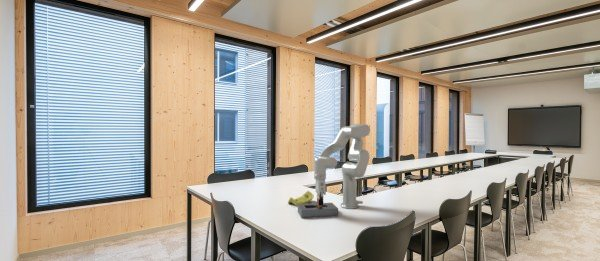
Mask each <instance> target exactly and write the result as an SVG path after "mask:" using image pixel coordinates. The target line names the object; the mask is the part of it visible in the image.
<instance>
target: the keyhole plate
mask: <svg viewBox="0 0 600 261" xmlns="http://www.w3.org/2000/svg"><path fill="white" fill-rule="evenodd" d="M297 213H298V216H300V218H301V219H312V218H314V217H316V218H331V217H332V216H334V217H339V208H338V207H337V205H335V204H334V203H333V202H323V205H322V207H318V204H317V202H316V203H315V202H313V203H307V204H298V207H297Z"/></svg>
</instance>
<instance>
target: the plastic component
mask: <svg viewBox="0 0 600 261" xmlns="http://www.w3.org/2000/svg"><path fill="white" fill-rule="evenodd" d="M313 199H314V194H313V193H312V192H310V191H309V190H307V191H306V192H305V193H303V194H302V195H301V196H300V197H297V198H293V197H289V199H288V201H287V204H288V205H291V204H294V205H295V206H296V207H297V208H298V204H309V202H311V201H312V200H313Z"/></svg>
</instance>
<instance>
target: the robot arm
mask: <svg viewBox="0 0 600 261" xmlns="http://www.w3.org/2000/svg"><path fill="white" fill-rule="evenodd" d="M370 133H371V127H370V125H368V124H365V123H360V124H359V123H353V124H350V125H349V126H348V125H345V126H342V127H341V128H340V129H339V131H338V133H337V134H336V137H335V138H334V140H333V141H332V142H331V143H330V144H329V145H328V146H326V147H324V149H323V150H322V151H321V153H320V155H319V157H315V159H314V164H313V166H314V169H313V170H314V171H313V172H314V180H315V193H316V203H317V204H318V205H323V203H324V195H327V194H326V193H327V188H326V187H327V184H326V179H327V178H326V177H327V169H335V168H336V167H337V165H338V160H337V159H336V158H335V157H333V156H331V155H333V154H335V153H337V152H339V151H342V150H345V149H344V148H345V147H346V145H347V143H348V142H349V139H351V143H350V147H349V150H348V153H347V159H348V160H349V161H351V162H349V161H348V162H344V163H343V164H342V166H341V174H342V203H340V208H341V207H342V208H344V209H347V210H348V209H353V210H355V209H357V208H359V205H362V204H363V203H364V202H363V201H362V200H358V199H357V178H360V179H361V178H363V177H364V176H365V174H366V171H367V167H368V165H369V161H370V154H369V151H368V150H366V149H363V148H364V147H363V146H364V140H363V138H364V137H368V136H369V135H370ZM318 195H319V199H318Z"/></svg>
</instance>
